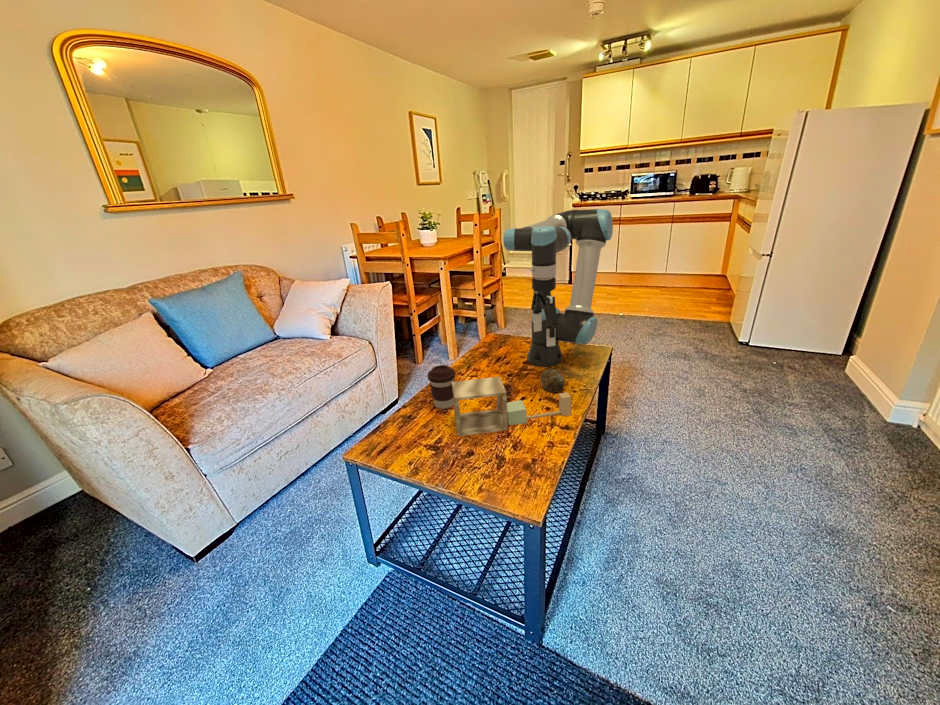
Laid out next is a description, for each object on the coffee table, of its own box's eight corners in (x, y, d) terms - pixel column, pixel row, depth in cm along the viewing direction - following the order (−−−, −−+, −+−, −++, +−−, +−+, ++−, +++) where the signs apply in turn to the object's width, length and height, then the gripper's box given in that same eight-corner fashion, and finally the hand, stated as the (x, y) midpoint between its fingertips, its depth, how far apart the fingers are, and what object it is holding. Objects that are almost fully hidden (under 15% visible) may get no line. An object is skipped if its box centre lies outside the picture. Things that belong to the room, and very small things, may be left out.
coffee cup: (437, 415, 138) (433, 377, 133) (427, 403, 147) (422, 367, 141) (462, 407, 142) (459, 370, 137) (451, 396, 151) (447, 360, 145)
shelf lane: (500, 414, 137) (499, 376, 131) (507, 432, 127) (506, 392, 121) (455, 420, 135) (451, 381, 129) (458, 438, 125) (454, 398, 119)
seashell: (559, 397, 145) (560, 378, 142) (535, 392, 149) (536, 373, 146) (569, 384, 153) (570, 366, 150) (547, 380, 158) (547, 362, 155)
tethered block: (566, 410, 136) (566, 390, 133) (572, 419, 131) (572, 398, 128) (505, 420, 135) (503, 400, 132) (509, 430, 129) (507, 409, 126)
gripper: (521, 270, 137) (523, 326, 146) (545, 288, 114) (545, 354, 123) (542, 267, 138) (542, 324, 146) (570, 285, 115) (568, 351, 124)
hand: (543, 338), depth 135 cm, fingers open, 13 cm apart
